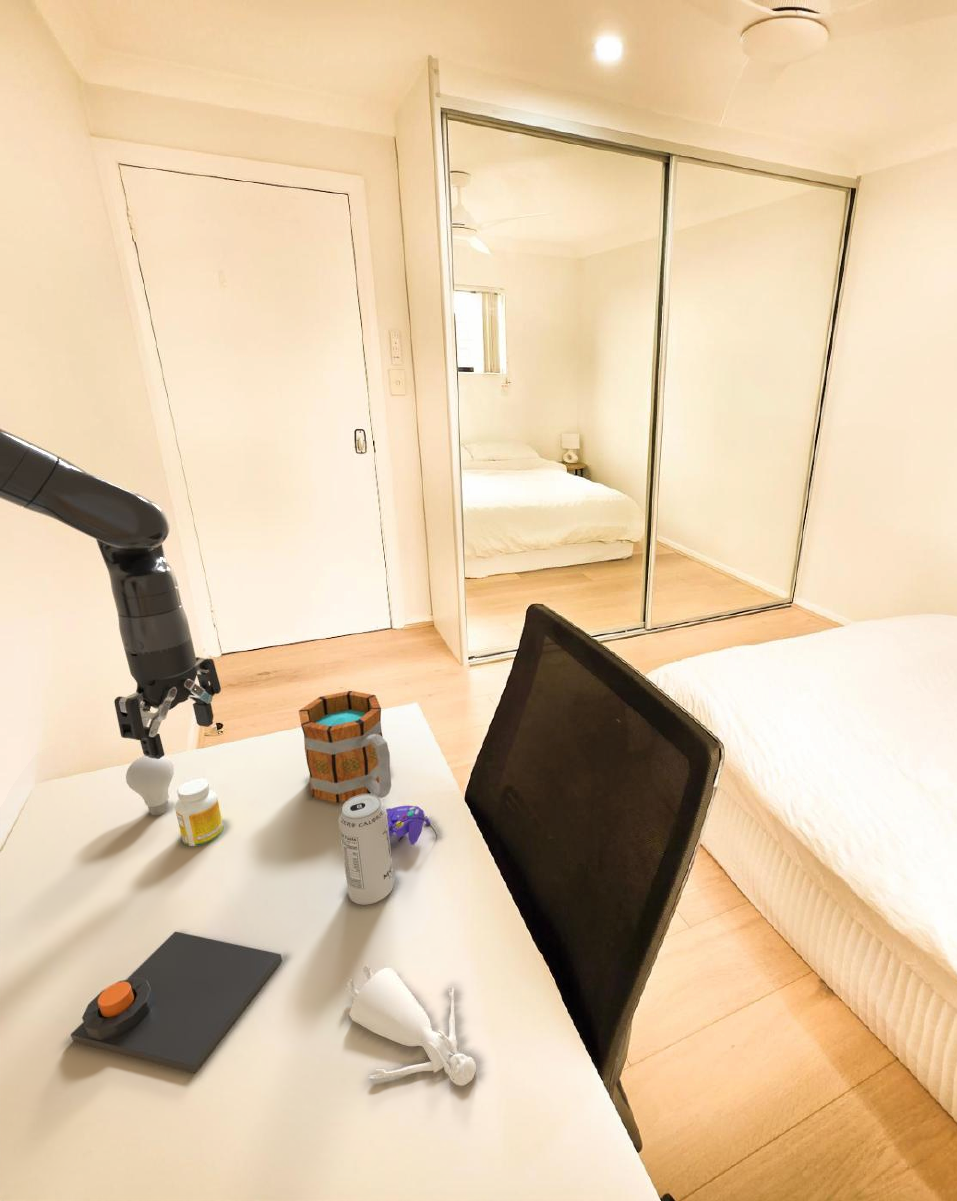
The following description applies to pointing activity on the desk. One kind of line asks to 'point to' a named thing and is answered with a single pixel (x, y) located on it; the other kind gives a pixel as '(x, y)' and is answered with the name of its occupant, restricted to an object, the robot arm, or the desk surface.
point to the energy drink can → (366, 849)
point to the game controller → (406, 822)
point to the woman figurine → (407, 1025)
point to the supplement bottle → (198, 813)
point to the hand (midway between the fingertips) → (181, 740)
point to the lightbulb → (151, 781)
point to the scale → (181, 1002)
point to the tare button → (115, 999)
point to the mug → (345, 746)
